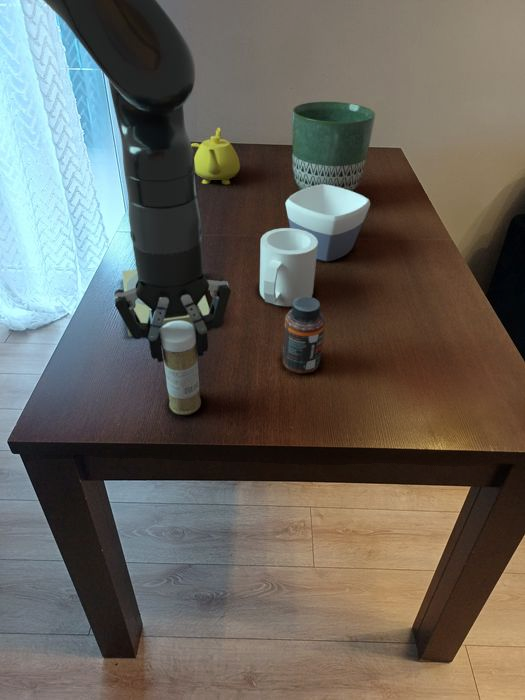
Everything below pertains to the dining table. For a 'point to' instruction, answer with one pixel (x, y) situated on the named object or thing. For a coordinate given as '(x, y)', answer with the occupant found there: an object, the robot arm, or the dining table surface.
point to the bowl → (328, 217)
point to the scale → (143, 310)
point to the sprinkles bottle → (181, 366)
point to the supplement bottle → (303, 335)
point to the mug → (287, 265)
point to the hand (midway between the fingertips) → (179, 354)
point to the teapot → (216, 159)
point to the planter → (330, 143)
